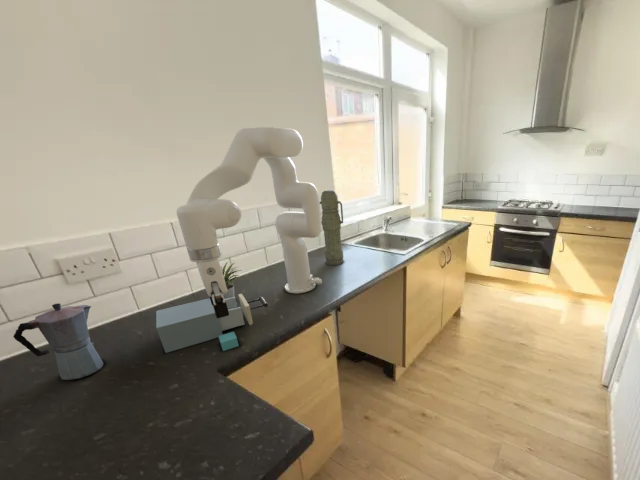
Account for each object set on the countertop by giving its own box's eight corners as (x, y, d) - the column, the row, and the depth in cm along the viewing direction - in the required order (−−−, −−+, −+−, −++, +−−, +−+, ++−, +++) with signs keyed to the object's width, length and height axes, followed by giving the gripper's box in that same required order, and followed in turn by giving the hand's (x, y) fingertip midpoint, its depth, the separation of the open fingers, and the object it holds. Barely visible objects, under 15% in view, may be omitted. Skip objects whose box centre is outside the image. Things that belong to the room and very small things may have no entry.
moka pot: (123, 358, 91) (95, 295, 83) (59, 394, 78) (18, 325, 70) (101, 352, 94) (72, 291, 86) (35, 386, 81) (-6, 318, 73)
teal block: (236, 339, 99) (233, 331, 98) (238, 346, 96) (236, 337, 94) (220, 344, 97) (218, 335, 95) (223, 351, 93) (220, 342, 92)
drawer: (263, 305, 117) (259, 289, 115) (272, 318, 109) (268, 300, 106) (200, 322, 107) (195, 304, 104) (204, 337, 99) (199, 318, 96)
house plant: (230, 314, 114) (219, 271, 107) (197, 310, 117) (185, 269, 110) (253, 296, 127) (245, 258, 120) (223, 294, 130) (213, 256, 123)
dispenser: (217, 319, 111) (211, 297, 107) (223, 336, 101) (216, 312, 97) (164, 334, 103) (156, 310, 99) (165, 353, 93) (156, 328, 90)
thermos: (323, 260, 165) (315, 190, 151) (346, 258, 166) (340, 189, 152) (322, 266, 157) (314, 193, 143) (346, 264, 158) (341, 192, 144)
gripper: (225, 258, 79) (240, 318, 86) (215, 242, 92) (229, 296, 100) (191, 264, 75) (209, 327, 83) (186, 247, 89) (202, 302, 96)
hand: (220, 309), depth 91 cm, fingers open, 8 cm apart
